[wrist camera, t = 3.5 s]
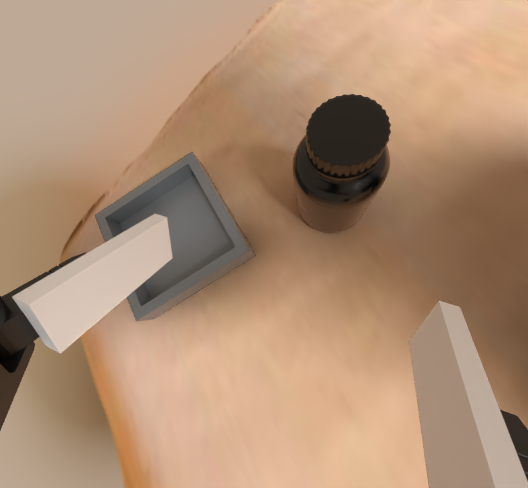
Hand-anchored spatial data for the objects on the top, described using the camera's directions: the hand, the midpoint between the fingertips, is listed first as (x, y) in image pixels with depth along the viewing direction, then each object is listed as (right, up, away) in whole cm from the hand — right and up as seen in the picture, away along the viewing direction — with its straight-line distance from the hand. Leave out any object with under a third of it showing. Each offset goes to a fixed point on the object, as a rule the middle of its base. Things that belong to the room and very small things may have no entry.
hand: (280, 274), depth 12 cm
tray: (-10, +2, +16) cm, 19 cm away
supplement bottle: (+6, +6, +14) cm, 16 cm away
